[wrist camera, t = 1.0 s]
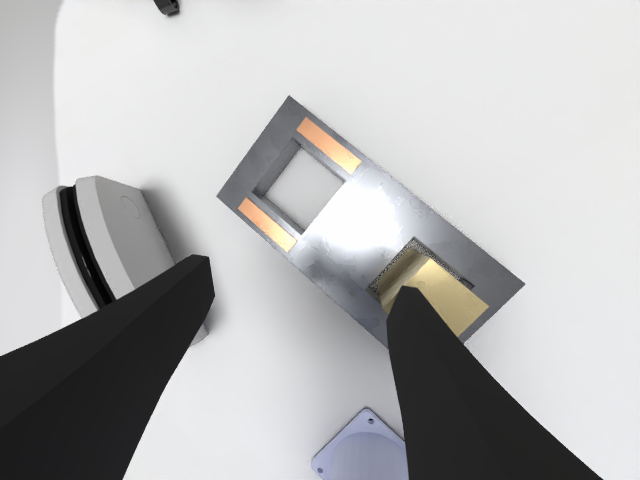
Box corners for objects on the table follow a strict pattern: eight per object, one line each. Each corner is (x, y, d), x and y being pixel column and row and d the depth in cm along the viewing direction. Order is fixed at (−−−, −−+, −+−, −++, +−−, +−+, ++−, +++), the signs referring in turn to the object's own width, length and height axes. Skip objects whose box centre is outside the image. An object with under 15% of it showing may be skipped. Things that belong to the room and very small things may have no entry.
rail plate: (505, 276, 19) (527, 284, 17) (417, 362, 21) (424, 382, 18) (297, 110, 22) (288, 93, 19) (231, 199, 23) (214, 196, 21)
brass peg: (447, 279, 20) (489, 306, 13) (413, 313, 21) (437, 356, 14) (408, 247, 21) (430, 258, 14) (376, 282, 21) (382, 309, 14)
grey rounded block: (103, 210, 26) (-10, 177, 16) (148, 191, 27) (66, 149, 17) (170, 354, 25) (96, 412, 16) (214, 332, 26) (170, 373, 16)
